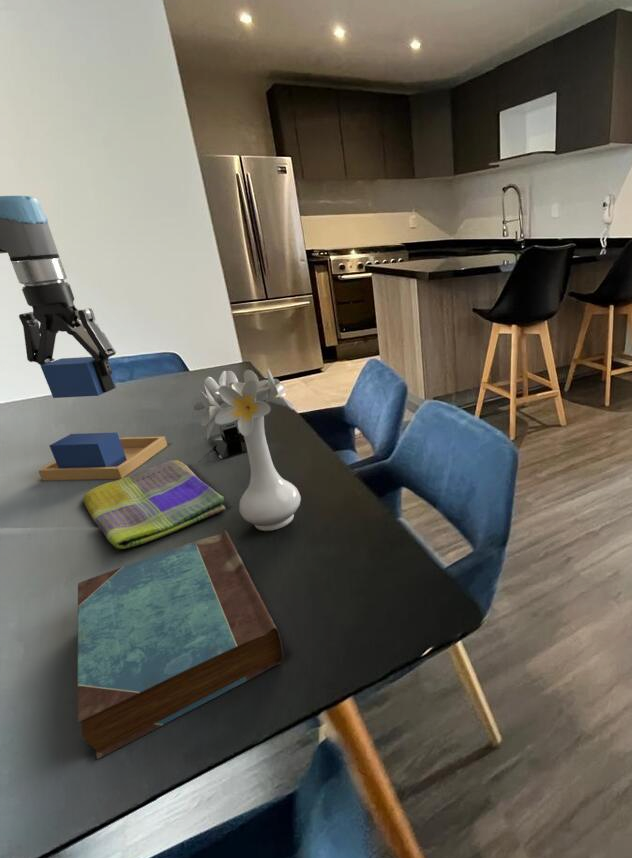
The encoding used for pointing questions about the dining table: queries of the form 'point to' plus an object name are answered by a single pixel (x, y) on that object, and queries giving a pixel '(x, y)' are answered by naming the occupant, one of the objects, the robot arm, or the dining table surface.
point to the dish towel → (151, 504)
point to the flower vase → (252, 443)
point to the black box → (230, 441)
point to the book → (167, 639)
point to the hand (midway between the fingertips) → (85, 391)
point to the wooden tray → (135, 454)
